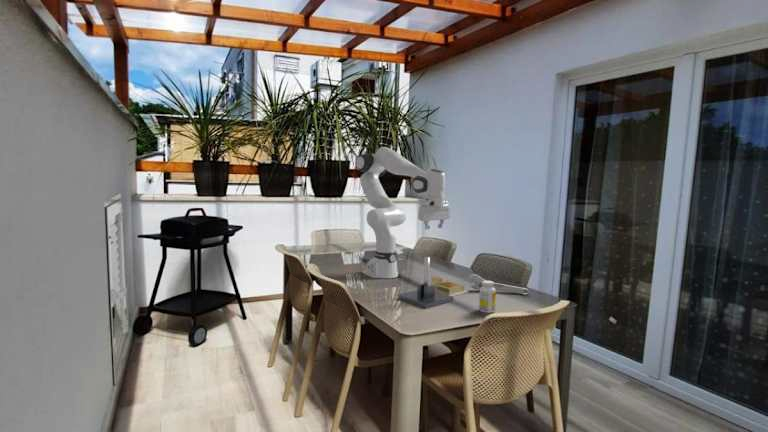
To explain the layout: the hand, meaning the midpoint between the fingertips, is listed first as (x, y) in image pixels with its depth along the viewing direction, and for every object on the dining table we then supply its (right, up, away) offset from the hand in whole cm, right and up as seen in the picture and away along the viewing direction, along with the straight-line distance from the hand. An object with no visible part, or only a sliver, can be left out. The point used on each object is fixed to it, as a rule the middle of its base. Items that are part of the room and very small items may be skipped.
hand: (433, 228), depth 213 cm
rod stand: (-6, -33, -18) cm, 38 cm away
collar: (+5, -30, -3) cm, 31 cm away
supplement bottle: (+19, -35, -33) cm, 51 cm away
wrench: (+32, -32, -3) cm, 45 cm away
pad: (+5, -31, -4) cm, 32 cm away
